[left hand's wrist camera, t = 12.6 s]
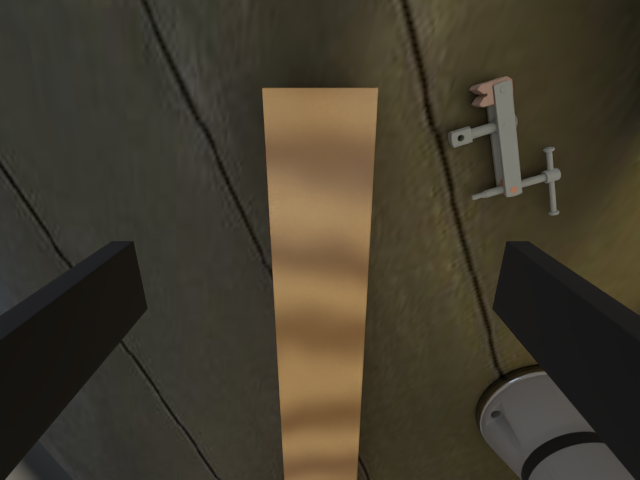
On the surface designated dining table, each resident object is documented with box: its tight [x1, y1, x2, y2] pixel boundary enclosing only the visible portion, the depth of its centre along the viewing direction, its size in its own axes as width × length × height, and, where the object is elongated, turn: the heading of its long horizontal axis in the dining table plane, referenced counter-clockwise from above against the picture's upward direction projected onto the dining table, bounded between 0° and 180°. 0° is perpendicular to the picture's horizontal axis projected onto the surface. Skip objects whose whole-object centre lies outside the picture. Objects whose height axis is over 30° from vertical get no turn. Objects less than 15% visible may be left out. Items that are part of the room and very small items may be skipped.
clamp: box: [448, 76, 561, 215], centre depth 35 cm, size 15×2×10 cm
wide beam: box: [262, 88, 378, 480], centre depth 43 cm, size 67×9×8 cm, turn 0°
